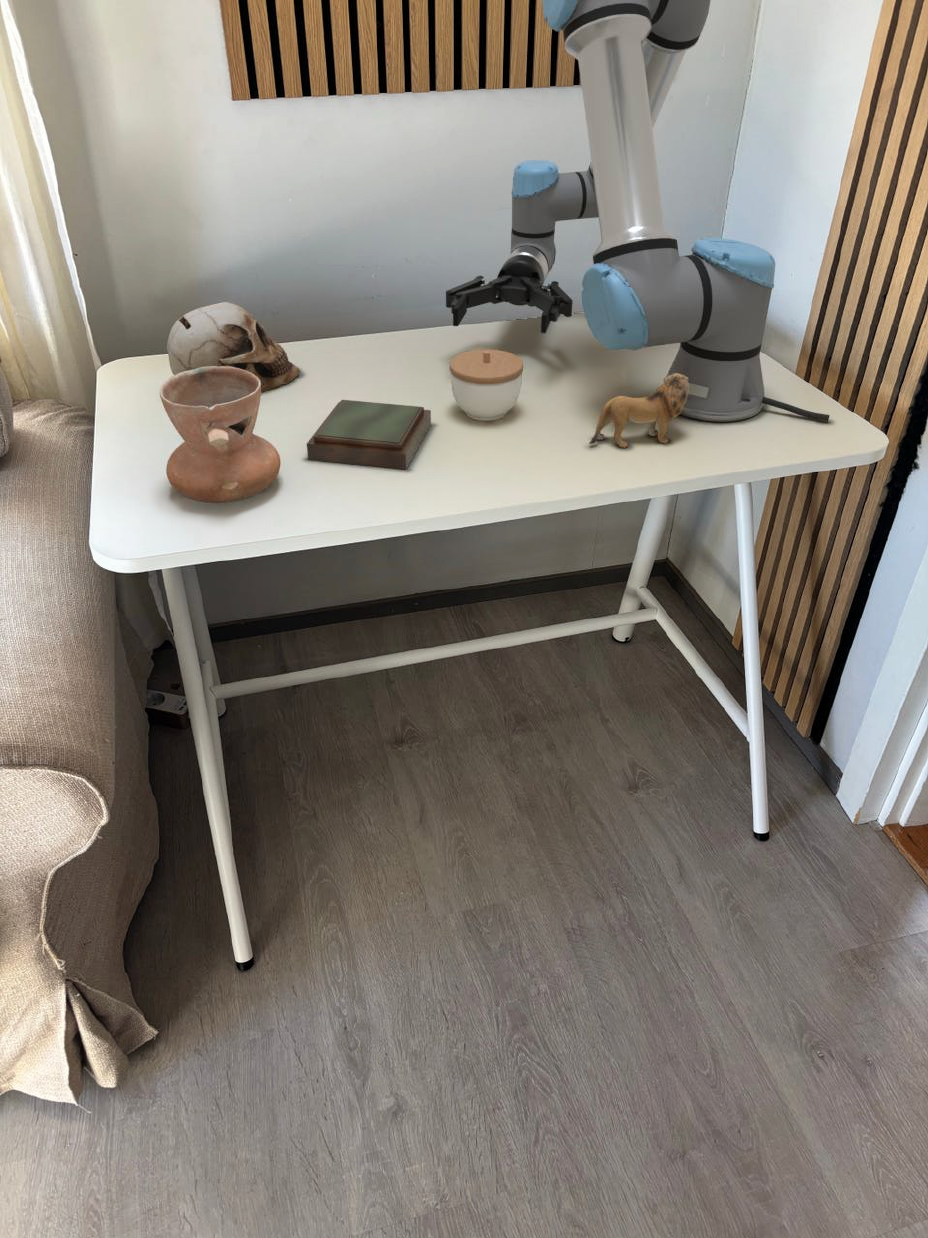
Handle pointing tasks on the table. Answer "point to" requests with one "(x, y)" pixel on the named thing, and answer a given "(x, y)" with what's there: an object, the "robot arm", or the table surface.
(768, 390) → the table surface
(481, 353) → the lidded bowl
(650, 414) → the lion figurine
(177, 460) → the orange-brown waisted vessel
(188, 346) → the coin bank
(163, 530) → the table surface
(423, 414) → the holder
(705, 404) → the robot arm
